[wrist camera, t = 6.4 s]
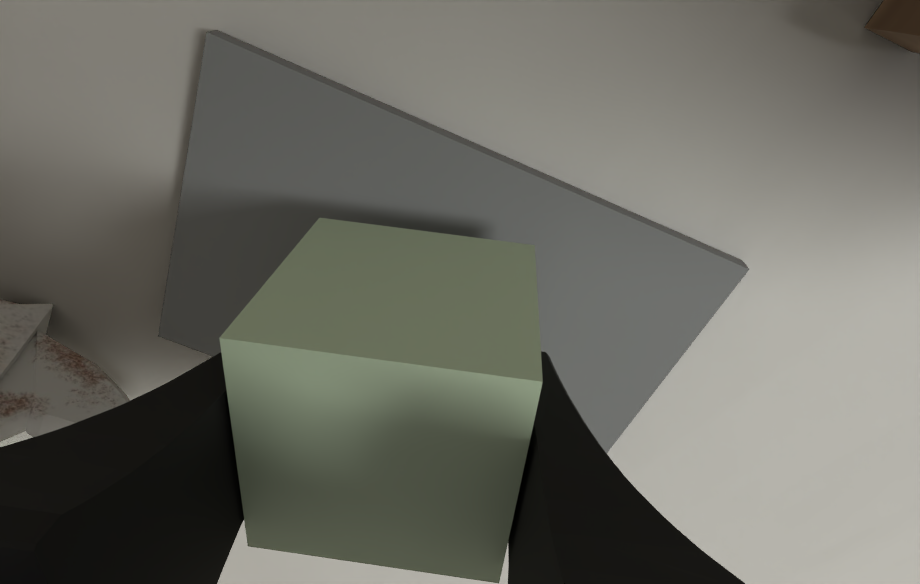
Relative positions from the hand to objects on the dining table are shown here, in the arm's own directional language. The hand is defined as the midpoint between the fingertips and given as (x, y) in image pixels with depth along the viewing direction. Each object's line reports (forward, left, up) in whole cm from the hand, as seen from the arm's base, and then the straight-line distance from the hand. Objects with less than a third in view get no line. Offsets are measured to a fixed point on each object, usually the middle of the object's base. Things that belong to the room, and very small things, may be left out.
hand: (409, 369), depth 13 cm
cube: (0, 0, -2) cm, 2 cm away
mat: (0, 0, -3) cm, 3 cm away
